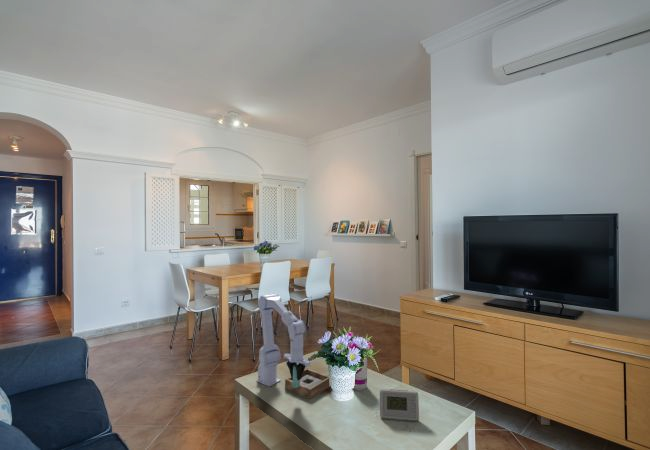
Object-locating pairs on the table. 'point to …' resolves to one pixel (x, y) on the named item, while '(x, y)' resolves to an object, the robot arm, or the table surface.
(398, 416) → the digital clock
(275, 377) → the robot arm
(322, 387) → the box
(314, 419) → the table surface
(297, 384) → the peg
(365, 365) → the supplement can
